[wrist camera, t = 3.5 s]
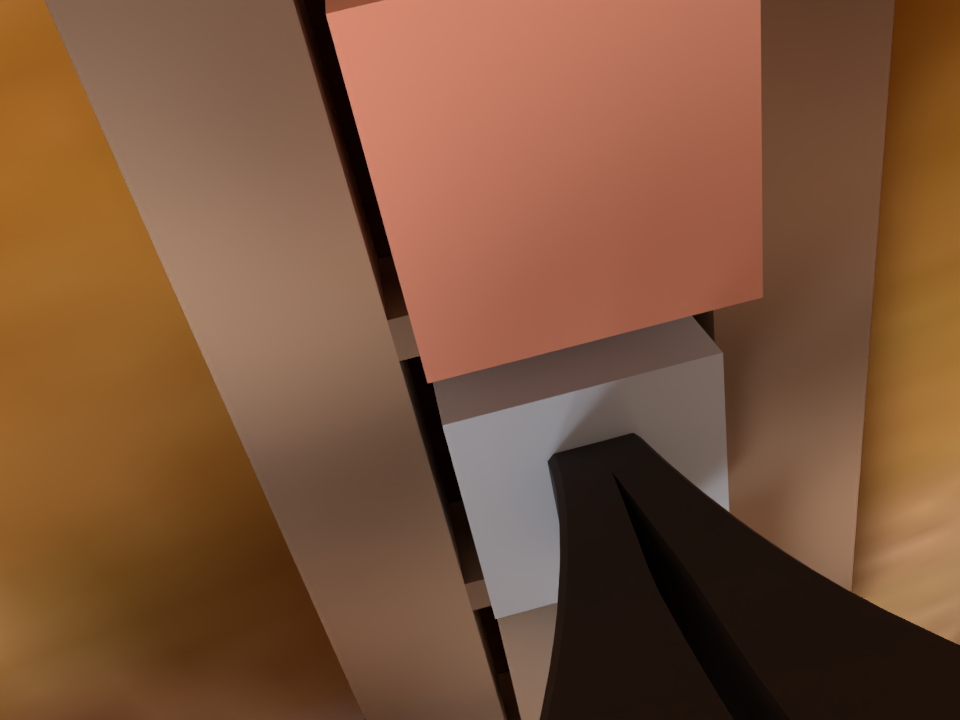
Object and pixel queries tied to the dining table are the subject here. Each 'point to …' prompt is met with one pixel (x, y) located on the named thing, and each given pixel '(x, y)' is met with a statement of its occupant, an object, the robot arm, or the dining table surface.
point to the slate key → (575, 439)
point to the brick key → (558, 164)
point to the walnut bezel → (388, 331)
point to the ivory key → (529, 655)
